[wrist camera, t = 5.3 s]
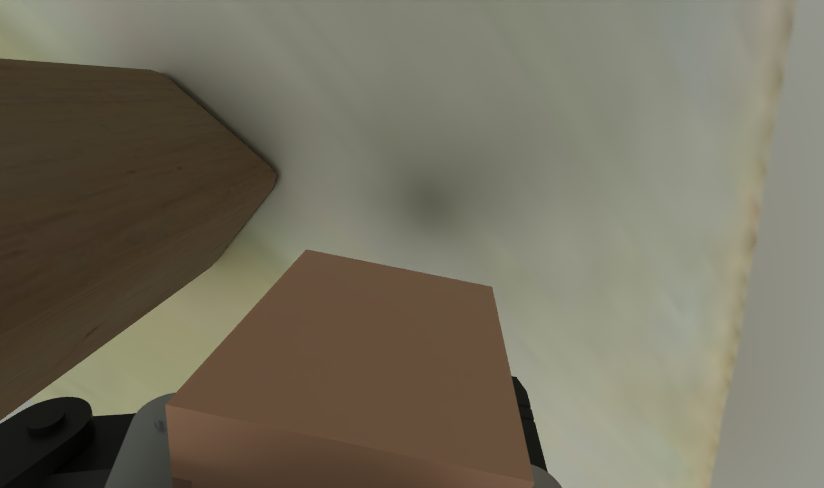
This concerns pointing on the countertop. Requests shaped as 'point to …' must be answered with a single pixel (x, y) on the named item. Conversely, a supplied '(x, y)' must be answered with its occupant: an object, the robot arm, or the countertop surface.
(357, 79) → the countertop surface
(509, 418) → the brick
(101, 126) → the wooden block
